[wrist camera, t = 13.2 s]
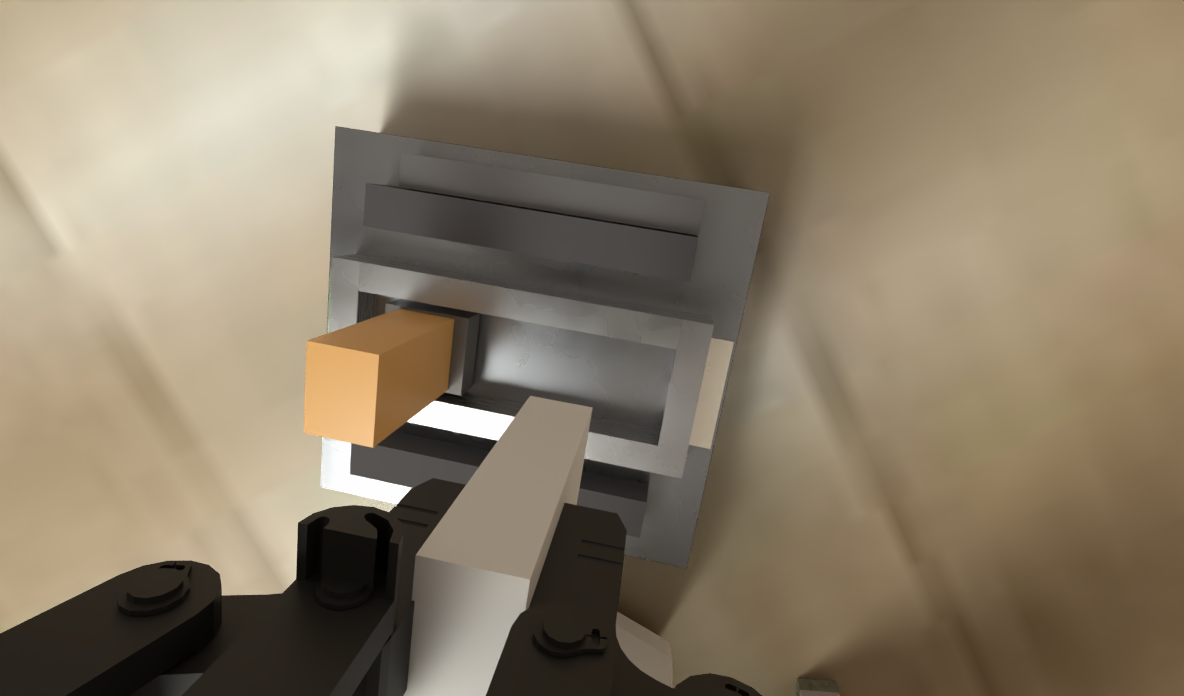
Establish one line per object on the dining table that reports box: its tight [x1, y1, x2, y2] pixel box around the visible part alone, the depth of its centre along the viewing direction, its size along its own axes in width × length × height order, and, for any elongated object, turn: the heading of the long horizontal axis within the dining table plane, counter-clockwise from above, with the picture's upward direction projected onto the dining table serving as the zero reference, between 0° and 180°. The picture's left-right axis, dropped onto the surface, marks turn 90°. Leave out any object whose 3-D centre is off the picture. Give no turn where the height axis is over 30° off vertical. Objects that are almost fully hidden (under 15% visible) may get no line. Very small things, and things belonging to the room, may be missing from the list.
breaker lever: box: [304, 299, 480, 448], centre depth 19 cm, size 3×3×6 cm
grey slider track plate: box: [350, 152, 706, 538], centre depth 21 cm, size 11×12×1 cm
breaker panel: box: [320, 126, 770, 568], centre depth 22 cm, size 15×14×4 cm
